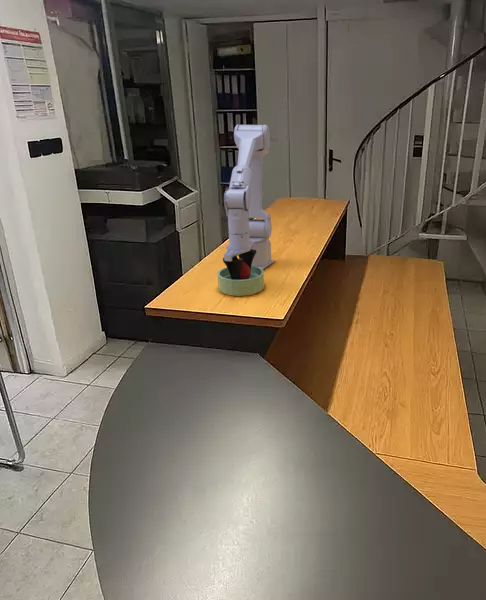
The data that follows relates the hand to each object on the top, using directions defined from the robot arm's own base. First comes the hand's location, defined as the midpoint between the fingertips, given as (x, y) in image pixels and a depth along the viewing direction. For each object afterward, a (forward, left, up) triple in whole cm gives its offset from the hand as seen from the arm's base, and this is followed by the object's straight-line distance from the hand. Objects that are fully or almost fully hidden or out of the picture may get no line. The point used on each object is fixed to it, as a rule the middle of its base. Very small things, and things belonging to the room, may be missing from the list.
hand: (241, 277), depth 140 cm
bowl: (0, 0, -3) cm, 3 cm away
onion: (0, 0, -2) cm, 2 cm away
